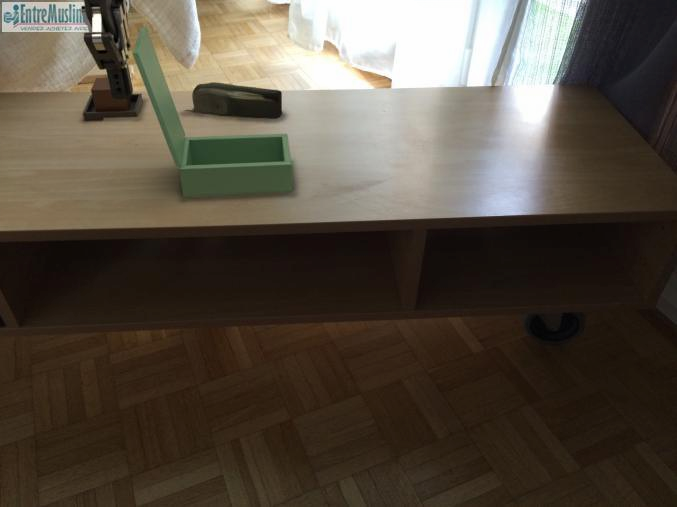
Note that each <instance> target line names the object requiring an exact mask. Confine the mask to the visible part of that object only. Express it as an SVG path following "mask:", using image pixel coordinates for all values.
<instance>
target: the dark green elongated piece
mask: <svg viewBox="0 0 677 507" xmlns="http://www.w3.org/2000/svg"><path fill="white" fill-rule="evenodd" d="M191 94H192V95H191V97H192V103H193V108H192V109H185V110H184V113H194V114H195V113H196V114H197V113H199V114H205V115H206V114H207V115H214V116H219V117H220V116H221V117H232V118H233V117H235V118H246V119H247V118H248V119H266V120H275V119H279V118H281V116H282V115H283V93H282V91H281V90H278V89H272V88H271V89H270V88H263V87H256V86H245V85H236V84H233V83H232V84H231V83H224V82H216V81H215V82H213V81H212V82H206V83H199V84H197V85H196V86H195V87H194V89H193V91H192V93H191Z"/></svg>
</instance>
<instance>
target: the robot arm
mask: <svg viewBox="0 0 677 507" xmlns="http://www.w3.org/2000/svg"><path fill="white" fill-rule="evenodd" d="M83 3H84V5H81V6H80V10H81V16H82V20H83V23H84V24H85V25H86V26H87V29H88V32H84V33H83V34H84V35H83V42H84V43H85V46H86V47H87V49H88V51H89V53H90V55H91V57H92V58H93V60H94V62H95V64H96V66H97V68H98V70H100V71H102V70H105V71H106V77H107V78H108V80H109V85H110V89H111V94H112V97H113V98H114V99H130V98H131V97H132V94H134V87H133V82H132V81H133V80H132V77H131V72H130V68H129V62H130V54H129V52H130V51H131V49H130V48H131V42H130V31H129V18H128V16H129V15H128V1H127V0H83Z"/></svg>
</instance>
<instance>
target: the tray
mask: <svg viewBox="0 0 677 507" xmlns="http://www.w3.org/2000/svg"><path fill="white" fill-rule="evenodd" d="M130 102H131V105H130V108H129V111H107V112H96V109H95V105H94V101H93V97H92V94H90V96H89V98H88V100H87V103H86V105H85V107H84V110H83V112H82V116H83V120H84V122H95V121H97V122H98V121H104V119H109V118H110V119H111V118H113V119H114V118H138V117H139V113H141V109H142V105H143V103H144V100H143V95H142V93H132V97H131V98H130Z"/></svg>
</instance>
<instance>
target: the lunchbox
mask: <svg viewBox="0 0 677 507" xmlns="http://www.w3.org/2000/svg"><path fill="white" fill-rule="evenodd" d="M291 156H292V155H291V149H290V141H289V134H288V133H265V134H261V133H260V134H239V135H237V134H235V135H212V136H211V135H210V136H185V138H184V145H183V152H182V160H181V166H178V173H179V178H180V179H179V180H180V184H181V190H182V197H183V198H192V197H211V196H212V197H213V196H231V195H232V196H233V195H234V196H235V195H252V194H253V195H255V194H275V193H292V192H293V165H292V164H293V163H292V158H291Z"/></svg>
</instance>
